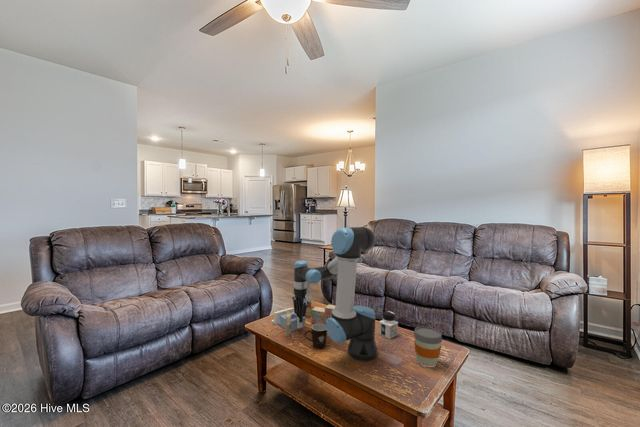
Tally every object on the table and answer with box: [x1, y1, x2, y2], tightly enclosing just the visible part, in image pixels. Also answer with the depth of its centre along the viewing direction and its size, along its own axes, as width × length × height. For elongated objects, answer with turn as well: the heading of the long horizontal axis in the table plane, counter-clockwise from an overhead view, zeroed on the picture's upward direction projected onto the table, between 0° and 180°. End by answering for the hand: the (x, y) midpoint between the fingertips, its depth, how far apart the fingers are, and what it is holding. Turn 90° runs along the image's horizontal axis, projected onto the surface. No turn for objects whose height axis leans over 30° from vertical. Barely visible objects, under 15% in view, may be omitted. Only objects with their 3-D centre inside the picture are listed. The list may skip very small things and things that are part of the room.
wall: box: [270, 306, 294, 325], centre depth 180 cm, size 5×14×7 cm, turn 130°
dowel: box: [284, 311, 292, 338], centre depth 159 cm, size 3×3×14 cm
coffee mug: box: [304, 324, 328, 350], centre depth 149 cm, size 12×9×10 cm
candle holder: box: [304, 281, 315, 319], centre depth 191 cm, size 11×11×24 cm
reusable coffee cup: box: [413, 326, 443, 366], centre depth 135 cm, size 12×13×15 cm
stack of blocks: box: [310, 304, 335, 325], centre depth 173 cm, size 21×6×12 cm, turn 65°
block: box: [279, 312, 306, 332], centre depth 171 cm, size 11×11×6 cm
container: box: [378, 310, 399, 339], centre depth 163 cm, size 8×8×13 cm
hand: (299, 327), depth 166 cm, fingers closed
